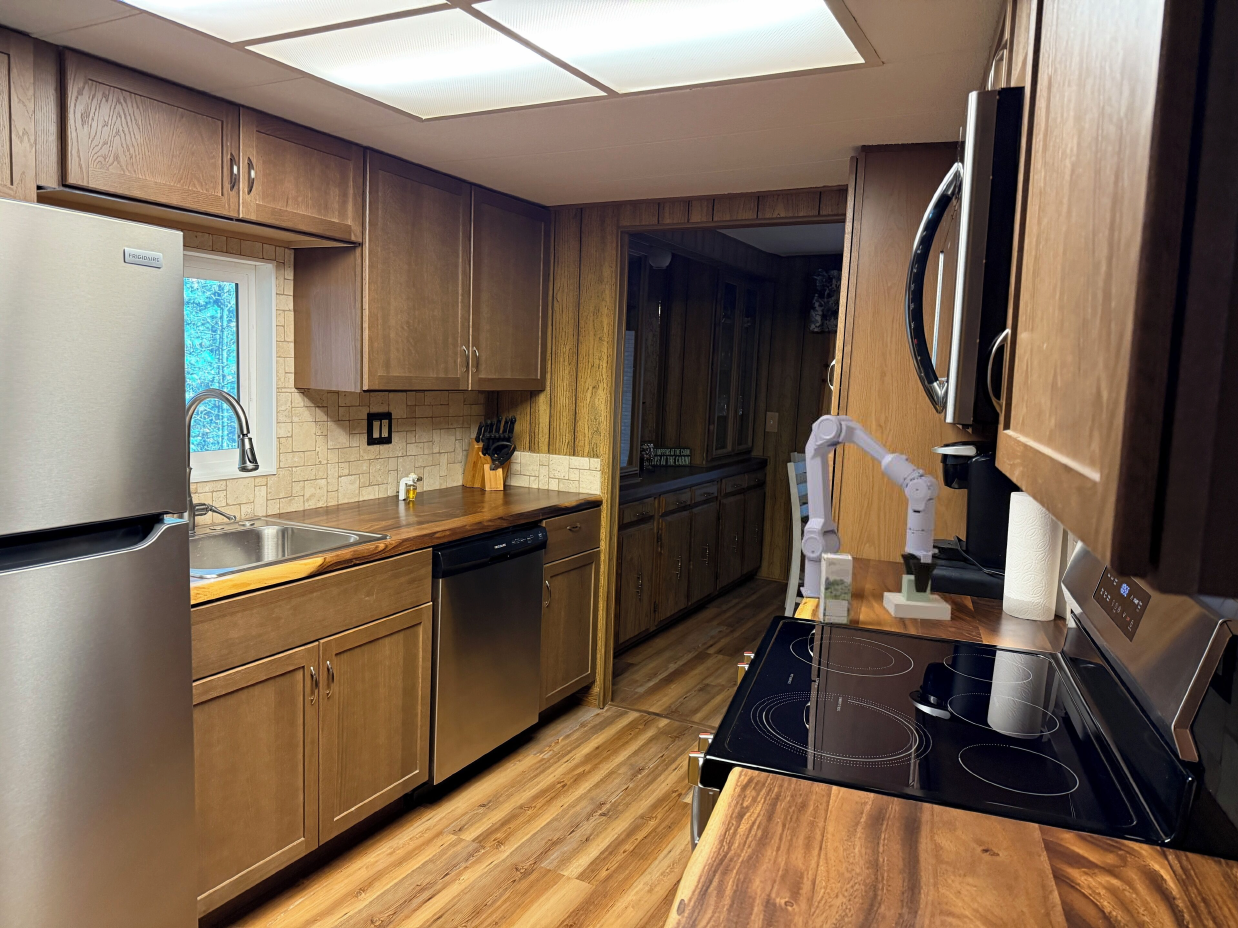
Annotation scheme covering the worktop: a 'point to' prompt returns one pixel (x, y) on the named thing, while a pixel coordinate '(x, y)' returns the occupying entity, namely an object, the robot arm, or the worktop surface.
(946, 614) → the base block
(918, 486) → the robot arm
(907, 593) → the green cube
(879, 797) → the worktop surface
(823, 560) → the syrup box
